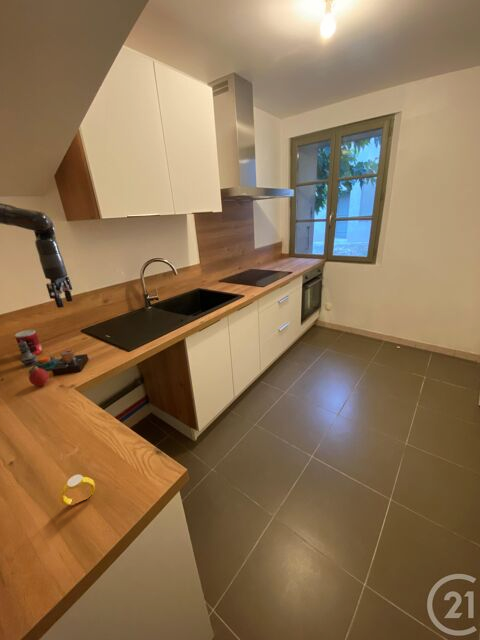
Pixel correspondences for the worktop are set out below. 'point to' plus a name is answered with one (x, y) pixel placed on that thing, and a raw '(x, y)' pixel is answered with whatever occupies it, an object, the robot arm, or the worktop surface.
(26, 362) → the grey chess piece
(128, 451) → the worktop surface
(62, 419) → the worktop surface
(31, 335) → the canned food
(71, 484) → the watch
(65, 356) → the hob knob
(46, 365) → the ignition block
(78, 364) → the black square tray
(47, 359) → the ignition button
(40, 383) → the red round piece
